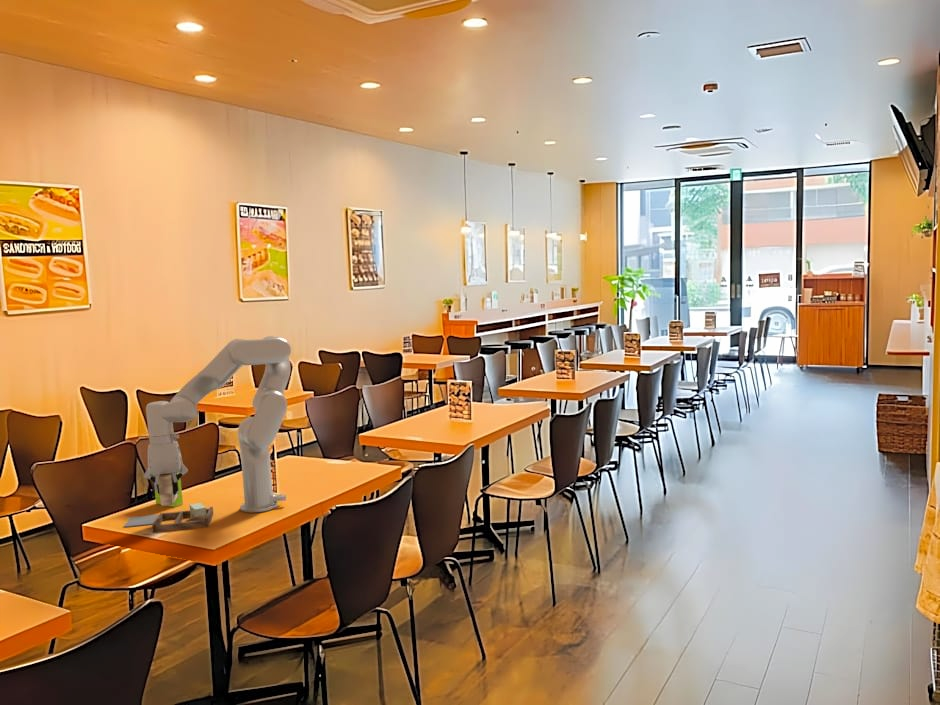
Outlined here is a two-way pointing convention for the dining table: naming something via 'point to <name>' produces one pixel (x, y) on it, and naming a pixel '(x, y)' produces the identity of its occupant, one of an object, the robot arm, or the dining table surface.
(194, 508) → the offcut top
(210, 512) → the rack
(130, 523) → the mat
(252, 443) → the robot arm
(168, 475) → the beige rectangular block
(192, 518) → the offcut low
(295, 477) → the dining table surface
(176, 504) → the box
